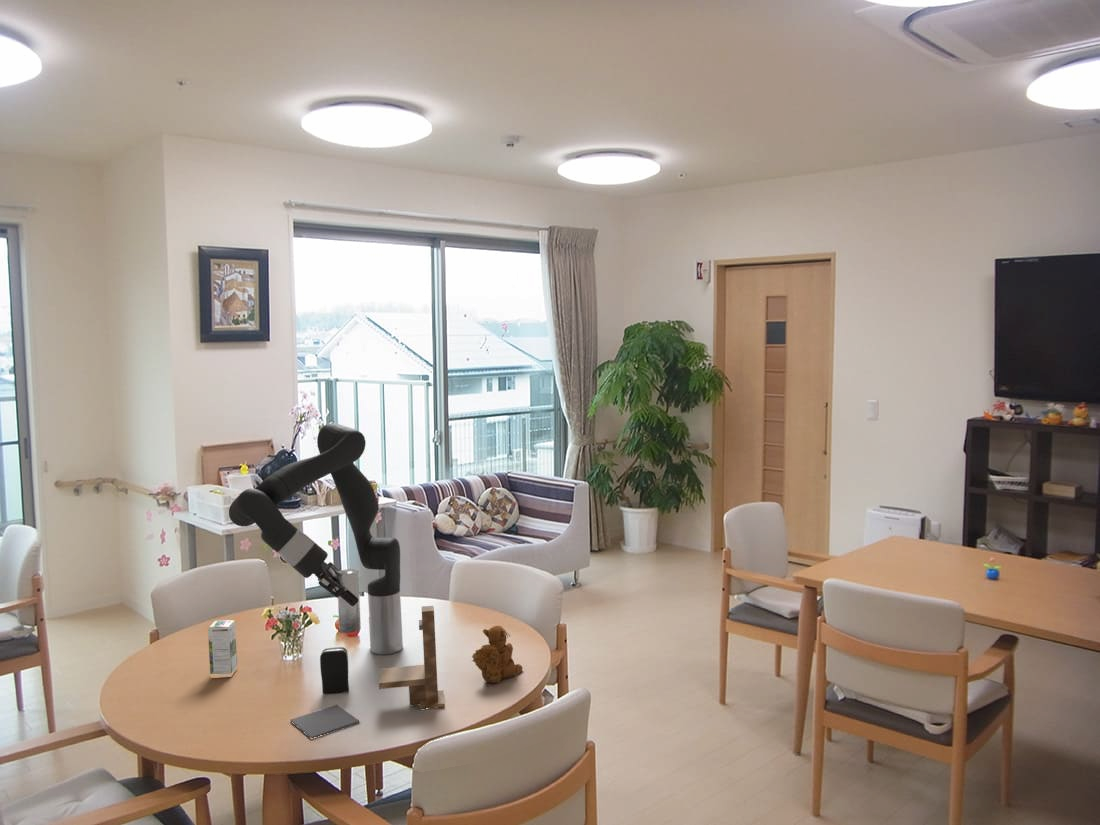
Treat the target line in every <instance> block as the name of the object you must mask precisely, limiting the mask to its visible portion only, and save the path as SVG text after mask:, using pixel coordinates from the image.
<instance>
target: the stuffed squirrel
mask: <svg viewBox="0 0 1100 825" xmlns="http://www.w3.org/2000/svg"><path fill="white" fill-rule="evenodd" d="M482 633H483V635H485V636H486V638H487V639H488V644H484V645H482V646H481V647H480V648H479V649H476V650H474V651H475V652H474V653H473V654H472V655H471V658H472V662H474V664H475V666H476V667H477V668H478V669H479V671H481V676H482V678H483V680H484V681H485V682H487V683H492V684H499V683H500V682H501V680H502V679H503V680H504V679H508V678H512V677H513V678H514V677H516V676H517V675H519V674H520V673H521V672H522V671H523V666H522V665H521V664H519V663H517V664H515V661H514V660H513V659H514V658H512V657H513V650H514V648H513V644H512V643H511V642H508V643H507V638H508V639H509V637H511V635H510V633H508V632H507V630H506V629H505V628H504V627H502V626H501V625H494V626H491V627H489V629H486V628H484V629H483V630H482Z"/></svg>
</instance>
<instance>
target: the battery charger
mask: <svg viewBox="0 0 1100 825" xmlns="http://www.w3.org/2000/svg"><path fill="white" fill-rule="evenodd" d="M319 662H320V663H319V665H320V677H321V688H322V689H321V690H322V691H321V692H322V694H323V695H328V694H329V695H331V694H340V693H342V694H343V693H348V692H349V691H350V685H349V684H350V683H349V655H348V650H347V648H346V647H343V646H342V647H341V646H338V647H329V648H325V649H323V650H322V652H321V653H320V657H319Z"/></svg>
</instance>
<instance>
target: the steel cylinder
mask: <svg viewBox="0 0 1100 825" xmlns="http://www.w3.org/2000/svg"><path fill="white" fill-rule="evenodd" d="M359 573H360V572H359V570H358V569H354V568H352V569H351V568H349V569H348V568H347V569H342V570H339V571H338V572H337V576H338V577H339V578H340V579H341V580H342V584H343V585H344V586H345V587H346V588H347V589H348V590H349V591H350V592H351V593H353V594H354V595H355V596H356V597H357V598H358V599H359V600H358V602H357V603H356V604H355V605H354V606H351V605H350V604H349V603H347V602H346V601H345V600H344V599H343V598H342V597H338V598H337V603H338V604H337V606H338V607H337V608H338V610H337V611H338V630H339V632H340V633H344V634H351V633H356V632H358V631H361V629H362V627H361V624H362V623H361V604H360V603H361V602H360V601H361V600H360V594H359V592H360V581H359V580H360V579H359V578H360V576H359ZM338 589H339V588H338V587H337V590H338Z"/></svg>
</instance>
